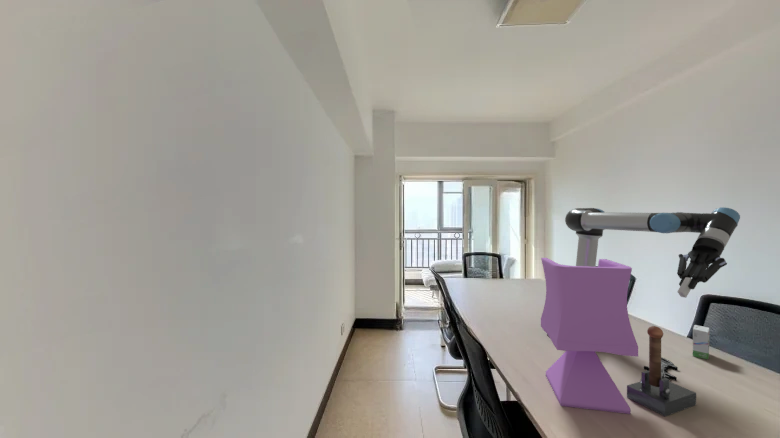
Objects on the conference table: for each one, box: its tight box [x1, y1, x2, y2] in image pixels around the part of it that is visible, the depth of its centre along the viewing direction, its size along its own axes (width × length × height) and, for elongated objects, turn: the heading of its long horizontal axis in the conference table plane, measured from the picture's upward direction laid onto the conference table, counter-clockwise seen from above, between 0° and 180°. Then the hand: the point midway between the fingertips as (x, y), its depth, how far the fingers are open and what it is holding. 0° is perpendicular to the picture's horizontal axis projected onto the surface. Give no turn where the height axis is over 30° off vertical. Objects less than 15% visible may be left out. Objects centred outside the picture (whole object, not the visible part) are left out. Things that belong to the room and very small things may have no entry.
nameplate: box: [643, 356, 679, 382], centre depth 124 cm, size 28×2×10 cm
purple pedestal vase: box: [540, 257, 639, 415], centre depth 110 cm, size 22×22×45 cm
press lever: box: [646, 325, 664, 387], centre depth 104 cm, size 4×4×19 cm
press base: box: [626, 370, 697, 417], centre depth 105 cm, size 11×16×9 cm
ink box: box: [692, 324, 710, 360], centre depth 139 cm, size 8×5×12 cm, turn 133°
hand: (681, 294), depth 108 cm, fingers closed
